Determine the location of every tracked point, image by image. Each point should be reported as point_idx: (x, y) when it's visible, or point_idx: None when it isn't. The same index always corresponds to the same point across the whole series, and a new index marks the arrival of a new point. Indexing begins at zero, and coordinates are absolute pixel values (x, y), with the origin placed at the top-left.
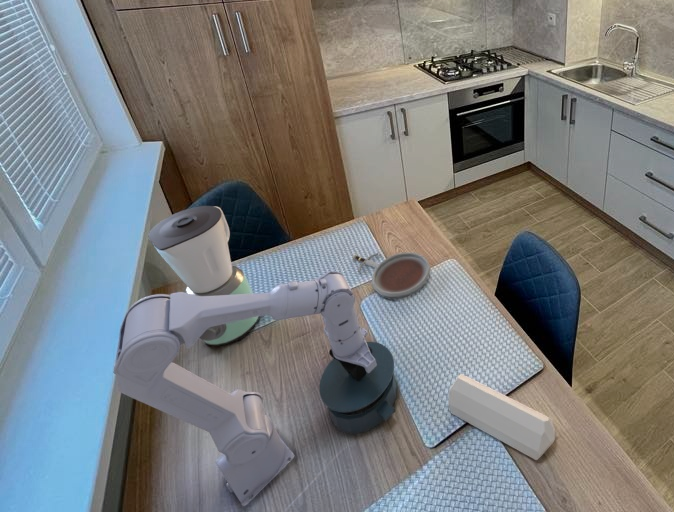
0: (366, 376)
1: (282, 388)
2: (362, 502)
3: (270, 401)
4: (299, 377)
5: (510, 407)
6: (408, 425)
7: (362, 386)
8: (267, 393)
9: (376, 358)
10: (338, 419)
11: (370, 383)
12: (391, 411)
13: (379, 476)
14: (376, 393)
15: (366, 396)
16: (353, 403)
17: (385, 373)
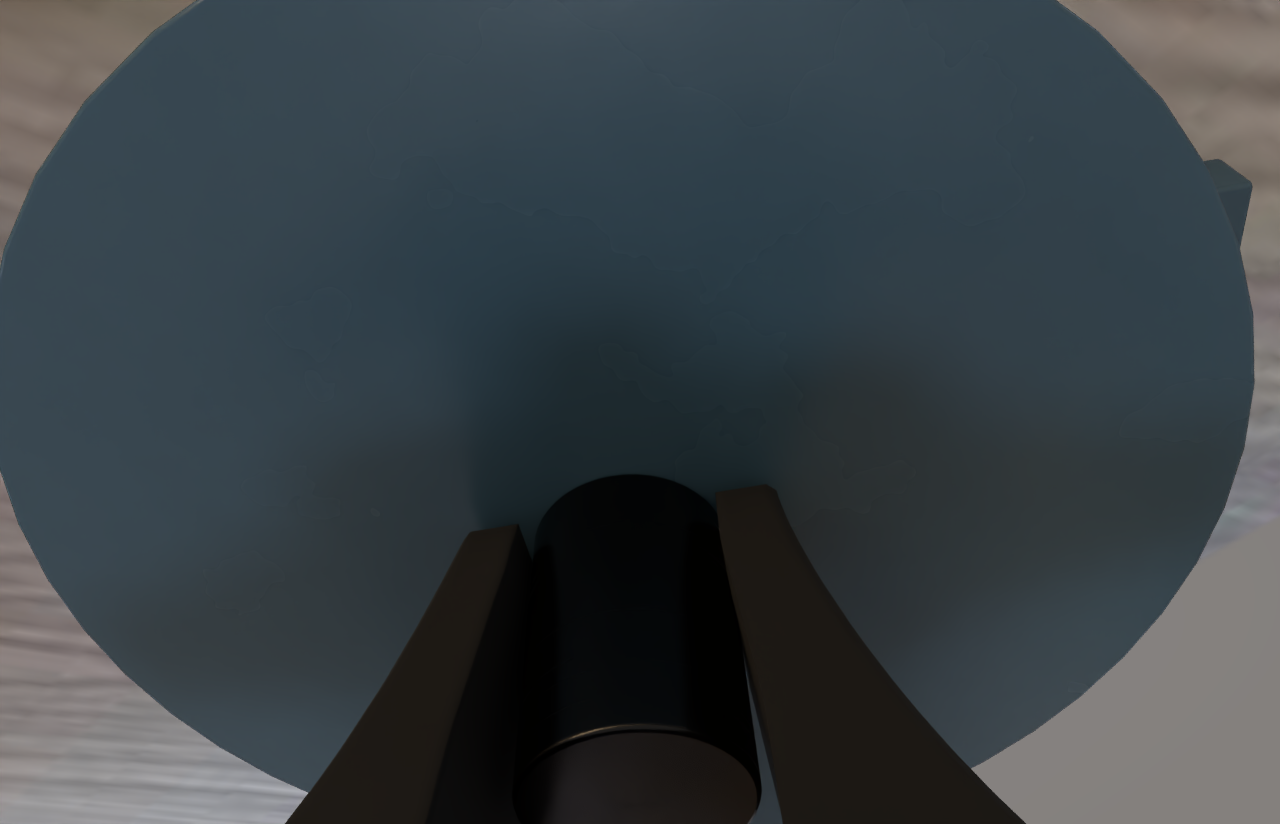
0: (793, 479)
1: (56, 643)
2: (1264, 520)
3: (132, 705)
4: (6, 548)
5: None
6: (1247, 7)
7: (885, 564)
8: (49, 707)
9: (595, 215)
10: None
11: (953, 478)
12: (1239, 231)
13: (1272, 393)
14: (1182, 482)
15: (1074, 583)
16: (987, 696)
17: (1045, 233)
